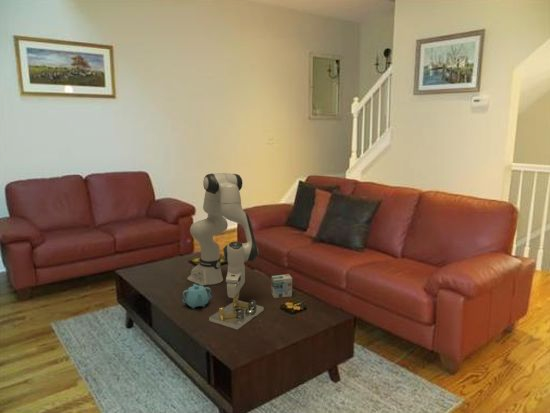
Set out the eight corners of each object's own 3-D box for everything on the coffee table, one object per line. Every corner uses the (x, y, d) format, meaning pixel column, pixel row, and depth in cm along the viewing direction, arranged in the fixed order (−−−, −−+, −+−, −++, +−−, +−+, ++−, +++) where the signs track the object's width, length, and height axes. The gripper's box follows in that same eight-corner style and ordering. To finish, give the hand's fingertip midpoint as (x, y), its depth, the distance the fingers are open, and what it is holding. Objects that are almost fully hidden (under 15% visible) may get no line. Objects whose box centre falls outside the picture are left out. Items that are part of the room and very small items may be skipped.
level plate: (209, 321, 205) (208, 314, 205) (236, 303, 225) (236, 297, 224) (238, 329, 197) (238, 322, 196) (264, 310, 216) (264, 304, 215)
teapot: (196, 298, 232) (194, 279, 230) (217, 303, 225) (215, 283, 223) (180, 308, 221) (178, 288, 219) (202, 312, 214) (200, 292, 212)
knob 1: (219, 320, 201) (219, 310, 200) (218, 317, 205) (218, 306, 203) (244, 316, 205) (244, 306, 203) (243, 313, 208) (242, 303, 207)
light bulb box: (274, 298, 230) (274, 280, 228) (271, 293, 237) (270, 275, 235) (292, 296, 233) (292, 278, 231) (289, 291, 240) (289, 273, 237)
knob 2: (232, 306, 215) (231, 296, 214) (234, 303, 219) (234, 293, 218) (255, 309, 213) (255, 299, 212) (257, 305, 217) (257, 295, 215)
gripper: (236, 265, 226) (236, 289, 229) (224, 280, 207) (225, 306, 210) (247, 266, 225) (247, 290, 228) (236, 281, 205) (237, 307, 209)
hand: (237, 298), depth 219 cm, fingers closed
